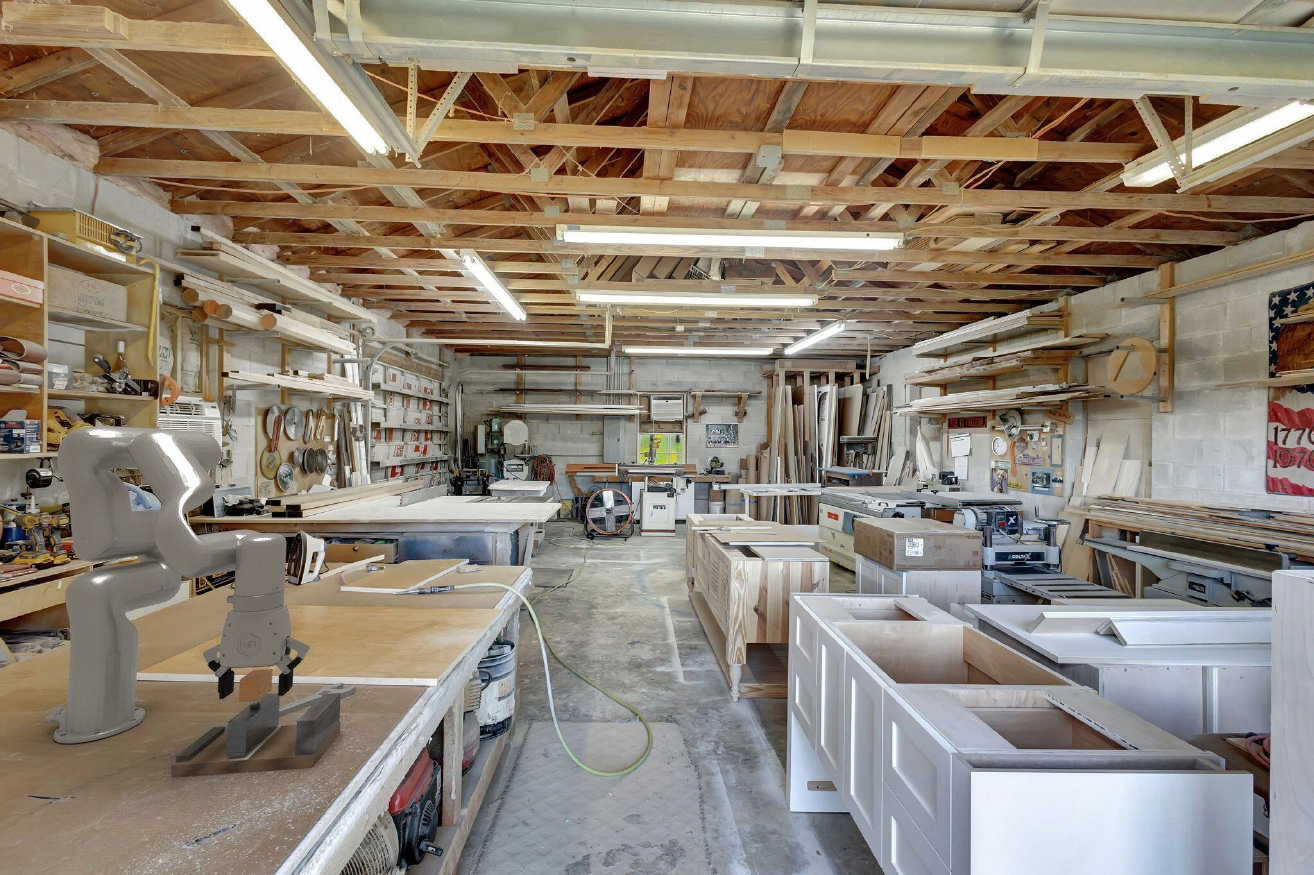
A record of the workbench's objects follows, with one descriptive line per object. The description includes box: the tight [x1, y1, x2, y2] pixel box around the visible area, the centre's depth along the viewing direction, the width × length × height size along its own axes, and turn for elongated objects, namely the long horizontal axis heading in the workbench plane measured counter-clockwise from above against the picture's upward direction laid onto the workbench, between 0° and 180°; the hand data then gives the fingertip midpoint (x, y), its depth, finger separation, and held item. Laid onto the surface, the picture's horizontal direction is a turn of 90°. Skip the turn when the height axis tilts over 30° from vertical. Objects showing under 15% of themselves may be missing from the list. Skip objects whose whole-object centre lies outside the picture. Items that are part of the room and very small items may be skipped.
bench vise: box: [170, 693, 342, 778], centre depth 99 cm, size 22×12×8 cm, turn 100°
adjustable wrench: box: [224, 682, 356, 729], centre depth 116 cm, size 25×6×2 cm, turn 143°
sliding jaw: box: [226, 668, 281, 757], centre depth 99 cm, size 3×11×12 cm, turn 10°
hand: (255, 694), depth 99 cm, fingers open, 9 cm apart
